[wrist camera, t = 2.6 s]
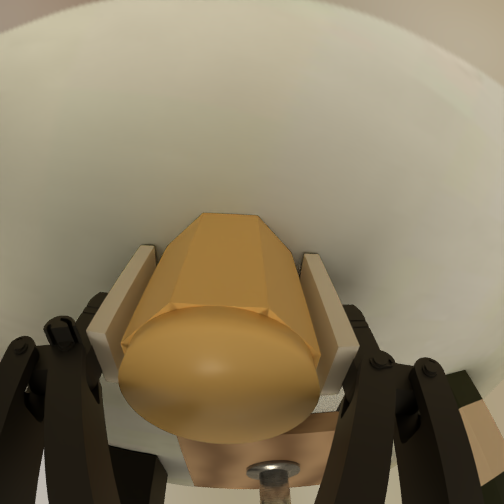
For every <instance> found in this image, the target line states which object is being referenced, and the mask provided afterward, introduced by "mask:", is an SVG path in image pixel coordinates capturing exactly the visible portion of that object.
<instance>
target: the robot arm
mask: <svg viewBox="0 0 504 504" xmlns="http://www.w3.org/2000/svg"><path fill="white" fill-rule="evenodd" d="M155 269H156V259H155V248H154V246H147V245H140V247H139V248H138V250H137V251H136V252H135V254H134V255H133V257H132V258H131V260H130V261H129V263H128V264H127V266H126V267H125V269H124V270H123V272H122V273H121V275H120V276H119V278H118V279H117V281H116V282H115V284H114V285H113V287H112V288H111V290H110V292H109V293H104V292H99V293H98V294H97V295H95V296H94V297H93V298H91V300H90V301H89V303H88V304H87V307H85V309H84V310H83V313H82V314H81V315H80V317H79V318H78V320H77V321H76V323H75V321H74V320H73V319H72V318H71V317H69V316H58V317H54V318H53V319H51V320H49V321H48V322H47V323H46V324H45V326H44V328H43V330H44V332H45V334H46V337H47V339H48V341H49V343H50V345H42V346H36V344H35V342H34V340H33V339H32V338H31V337H28V336H21V337H18V338H16V339H15V340H13V341H12V342H11V344H10V345H9V346H8V348H7V350H6V352H5V354H4V356H3V358H2V360H1V362H0V504H35V499H36V491H37V483H38V477H39V470H40V465H41V459H42V455H43V450H44V457H45V473H46V485H47V493H48V500H49V504H121V503H120V499H119V495H118V491H117V487H116V483H115V478H114V473H113V468H112V463H111V458H110V452H109V446H108V440H107V433H106V426H105V418H104V409H103V398H102V387H101V384H100V381H99V378H100V376H101V374H102V373H103V375H104V377H105V380H106V381H109V382H114V383H119V382H118V373H119V368H120V365H121V363H122V360H123V358H124V353H123V350H122V346H121V344H120V343H121V341H122V338H123V336H124V334H125V332H126V329H127V327H128V325H129V323H130V321H131V319H132V316H133V314H134V312H135V310H136V308H137V306H138V304H139V301H140V299H141V297H142V295H143V293H144V291H145V289H146V287H147V285H148V283H149V281H150V279H151V277H152V275H153V273H154V271H155ZM300 283H301V287H302V290H303V293H304V297H305V300H306V303H307V307H308V310H309V314H310V317H311V321H312V324H313V328H314V331H315V335H316V338H317V342H318V345H319V349H320V353H321V356H320V359H319V362H318V365H317V368H316V372H317V376H318V381H319V386H320V395H333V394H338V393H339V391H340V389H341V387H342V386H343V389H344V393H345V395H344V397H343V399H342V401H341V403H340V405H339V406H338V408H337V410H336V411H338V412H339V416H338V420H337V425H336V429H335V433H334V437H333V441H332V445H331V449H330V453H329V457H328V460H327V464H326V468H325V471H324V474H323V478H322V481H321V484H320V488H319V491H318V494H317V497H316V500H315V503H314V504H384V502H385V497H386V492H387V485H388V479H389V472H390V465H391V456H392V447H393V440H394V446H395V452H396V458H397V465H398V472H399V479H400V487H401V497H402V504H484V499H483V494H482V489H481V484H480V480H479V476H478V471H477V467H476V463H475V460H474V456H473V452H472V449H471V445H470V442H469V439H468V435H467V432H466V429H465V426H464V423H463V420H462V417H461V414H460V411H459V409H458V406H457V403H456V400H455V398H454V395H453V392H452V390H451V387H450V385H449V382H448V380H447V377H446V375H445V373H444V370H443V368H442V367H441V365H440V364H439V363H438V362H437V361H435V360H433V359H431V358H426V357H424V358H420V359H418V360H417V361H416V363H415V364H414V366H410V365H403V364H398V363H395V360H394V359H393V358H392V356H391V355H389V354H388V353H386V352H384V351H381V350H380V349H379V347H378V344H377V342H376V340H375V338H374V336H373V334H372V332H371V330H370V328H369V326H368V324H367V322H366V321H365V318H364V316H363V314H362V312H361V311H360V310H359V309H358V308H357V307H356V306H354V305H342V304H341V302H340V299H339V297H338V295H337V293H336V291H335V288H334V286H333V284H332V282H331V280H330V277H329V275H328V273H327V271H326V269H325V267H324V265H323V263H322V261H321V258H320V256H319V254H304V257H303V263H302V269H301V275H300ZM27 386H28V388H27ZM26 388H27V390H26ZM25 390H26V392H25ZM339 410H340V411H339Z"/></svg>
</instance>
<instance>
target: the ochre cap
mask: <svg viewBox="0 0 504 504" xmlns="http://www.w3.org/2000/svg"><path fill="white" fill-rule="evenodd" d="M120 344H121V346H122V350H123V353H124V358H123V360H122V363H121V365H120V368H119V373H118V382H119V387H120V390H121V392H122V394H123V396H124V398H125V400H126V401H127V402H128V404H129V405H130V406H131V407H132V408H133V409H134V410H135V411H136V412H137V413H138V414H139V415H140V416H141V417H143V418H144V419H145V420H147V421H148V422H150V423H151V424H153V425H155V426H156V427H158V428H160V429H162V430H164V431H167V432H169V433H171V434H174V435H177V436H180V437H183V438H186V439H190V440H195V441H199V442H206V443H215V444H242V443H251V442H257V441H262V440H265V439H269V438H272V437H275V436H278V435H281V434H283V433H285V432H287V431H289V430H291V429H293V428H295V427H296V426H298V425H299V424H300V423H302V422H303V421H304V420H305V419H306V418H307V417H309V415H310V414H311V413H312V412H313V410H314V409H315V407H316V405H317V403H318V400H319V397H320V386H319V381H318V376H317V372H316V368H317V365H318V362H319V359H320V356H321V353H320V349H319V345H318V342H317V338H316V335H315V331H314V328H313V324H312V321H311V317H310V314H309V310H308V307H307V303H306V300H305V297H304V293H303V290H302V287H301V283H300V280H299V277H298V273H297V270H296V267H295V264H294V260H293V257H292V254H291V252H290V251H289V249H288V248H287V247H286V246H285V245H284V244H283V243H282V242H281V241H280V240H279V238H278V237H277V236H276V235H275V234H274V233H273V232H272V231H271V230H270V229H269V228H268V226H267V225H266V224H265V223H264V222H263V221H262V220H261V219H260V218H259V217H258V216H256V215H239V214H219V213H202V214H201V215H200V216H199V217H198V218H197V219H196V220H195V221H194V222H193V223H191V224H190V225H189V226H188V227H187V228H186V229H185V230H184V231H183V232H182V233H181V234H180V235H179V236H177V237H176V238H175V239H174V240H173V241H172V242H171V243H170V244H169V245H168V246H167V248H166V250H165V252H164V253H163V255H162V257H161V259H160V261H159V263H158V265H157V267H156V269H155V271H154V273H153V275H152V277H151V279H150V281H149V283H148V285H147V287H146V289H145V291H144V293H143V295H142V297H141V299H140V301H139V304H138V306H137V308H136V310H135V312H134V314H133V316H132V319H131V321H130V323H129V325H128V327H127V329H126V332H125V334H124V336H123V338H122V341H121V343H120Z"/></svg>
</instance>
